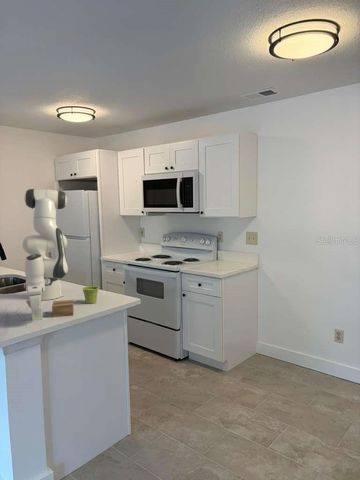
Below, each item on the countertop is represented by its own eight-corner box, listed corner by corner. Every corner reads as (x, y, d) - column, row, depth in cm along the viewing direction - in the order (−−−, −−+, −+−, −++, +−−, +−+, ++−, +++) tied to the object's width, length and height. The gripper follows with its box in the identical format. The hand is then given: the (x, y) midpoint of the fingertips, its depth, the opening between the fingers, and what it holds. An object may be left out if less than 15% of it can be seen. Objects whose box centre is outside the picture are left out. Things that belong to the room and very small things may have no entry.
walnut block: (54, 312, 192) (53, 301, 191) (73, 310, 194) (73, 299, 194) (52, 317, 182) (52, 306, 182) (73, 316, 185) (72, 304, 184)
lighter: (41, 312, 190) (40, 298, 189) (41, 313, 189) (40, 299, 188) (27, 314, 188) (26, 299, 187) (27, 315, 186) (26, 300, 185)
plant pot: (90, 299, 215) (90, 285, 214) (102, 301, 210) (102, 287, 210) (79, 303, 207) (78, 288, 206) (91, 305, 202) (90, 290, 202)
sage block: (33, 318, 182) (32, 306, 181) (42, 317, 183) (41, 305, 182) (32, 320, 177) (31, 309, 177) (42, 319, 179) (41, 308, 178)
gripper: (30, 283, 187) (32, 309, 189) (27, 292, 168) (28, 321, 170) (43, 282, 189) (44, 308, 191) (41, 291, 170) (43, 319, 171)
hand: (37, 314), depth 180 cm, fingers open, 8 cm apart
